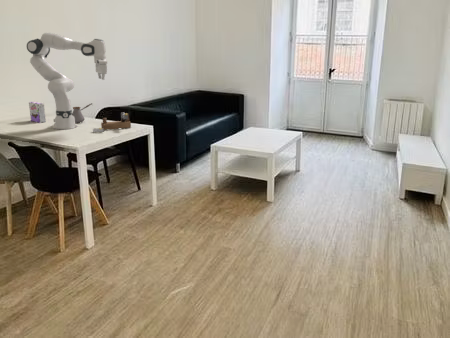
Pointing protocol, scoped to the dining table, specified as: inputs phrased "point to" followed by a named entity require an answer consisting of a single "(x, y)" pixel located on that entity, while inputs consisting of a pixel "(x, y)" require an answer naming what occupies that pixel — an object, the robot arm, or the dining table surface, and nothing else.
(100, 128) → the cap
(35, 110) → the candy box
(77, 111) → the coffee pot
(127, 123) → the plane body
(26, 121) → the dining table surface
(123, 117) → the lever
